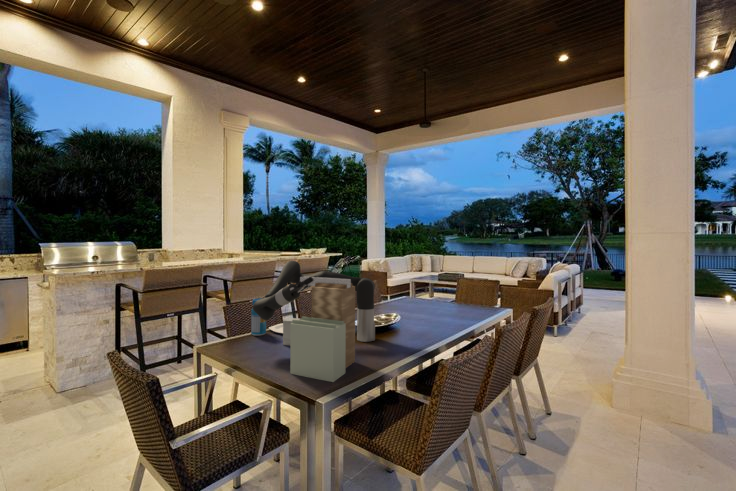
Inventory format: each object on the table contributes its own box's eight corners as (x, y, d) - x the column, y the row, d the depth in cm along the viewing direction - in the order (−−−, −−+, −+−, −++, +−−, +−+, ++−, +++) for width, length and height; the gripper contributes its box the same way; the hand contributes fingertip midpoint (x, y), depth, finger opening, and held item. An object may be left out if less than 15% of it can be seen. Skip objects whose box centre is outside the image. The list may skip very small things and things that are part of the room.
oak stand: (311, 365, 154) (311, 283, 153) (326, 357, 165) (326, 280, 164) (341, 370, 148) (342, 285, 147) (354, 361, 159) (355, 282, 158)
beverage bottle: (250, 336, 198) (250, 300, 197) (251, 332, 206) (251, 298, 206) (266, 335, 200) (266, 300, 200) (266, 331, 208) (266, 297, 208)
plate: (297, 322, 232) (297, 319, 232) (326, 329, 215) (326, 326, 215) (261, 331, 211) (261, 327, 211) (290, 339, 194) (290, 335, 194)
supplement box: (296, 346, 181) (296, 321, 181) (282, 345, 182) (282, 320, 182) (301, 342, 188) (301, 318, 188) (288, 341, 190) (288, 317, 189)
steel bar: (300, 284, 161) (300, 277, 161) (304, 283, 164) (304, 276, 164) (346, 288, 151) (346, 280, 151) (350, 287, 154) (350, 279, 154)
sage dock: (290, 373, 144) (290, 320, 144) (304, 365, 154) (304, 315, 153) (333, 382, 136) (333, 326, 136) (345, 373, 145) (345, 320, 145)
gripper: (274, 289, 160) (301, 272, 154) (293, 285, 173) (319, 269, 167) (281, 304, 159) (309, 287, 152) (299, 299, 172) (326, 283, 165)
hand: (314, 278), depth 160 cm, fingers closed on steel bar, 3 cm apart
